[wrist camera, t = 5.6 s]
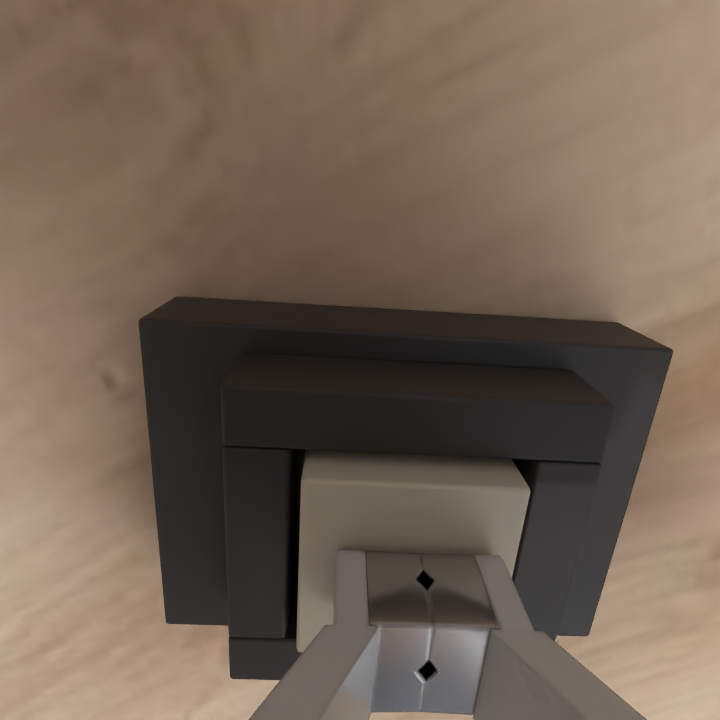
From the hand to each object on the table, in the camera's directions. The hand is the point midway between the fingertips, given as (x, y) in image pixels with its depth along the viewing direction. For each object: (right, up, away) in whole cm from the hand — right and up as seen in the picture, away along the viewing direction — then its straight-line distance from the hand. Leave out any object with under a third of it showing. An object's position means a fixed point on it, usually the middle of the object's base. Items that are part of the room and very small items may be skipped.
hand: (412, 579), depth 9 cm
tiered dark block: (0, +2, +4) cm, 5 cm away
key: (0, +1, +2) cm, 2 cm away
